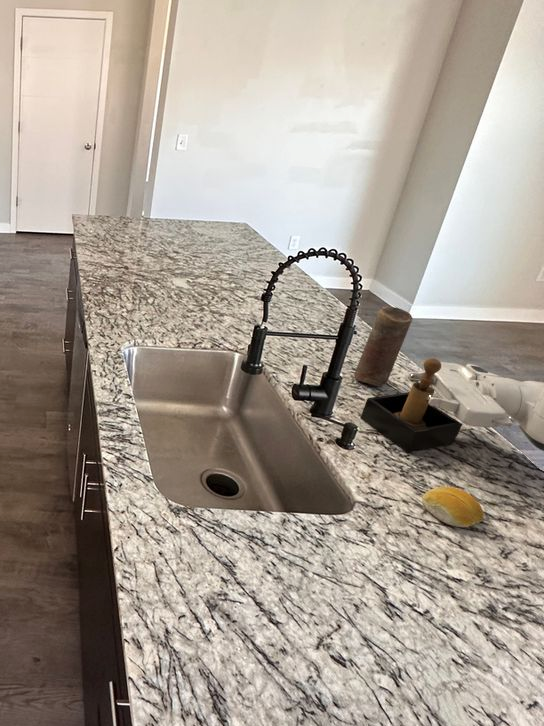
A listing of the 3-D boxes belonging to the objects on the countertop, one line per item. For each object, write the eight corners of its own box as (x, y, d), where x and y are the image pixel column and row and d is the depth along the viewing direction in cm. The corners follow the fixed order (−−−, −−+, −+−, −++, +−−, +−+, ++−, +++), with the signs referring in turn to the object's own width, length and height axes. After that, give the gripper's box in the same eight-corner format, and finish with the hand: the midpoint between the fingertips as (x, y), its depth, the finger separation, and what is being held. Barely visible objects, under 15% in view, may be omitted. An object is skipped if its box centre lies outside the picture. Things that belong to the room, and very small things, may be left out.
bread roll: (488, 520, 97) (497, 503, 96) (457, 534, 94) (466, 518, 92) (441, 489, 104) (449, 473, 102) (411, 502, 101) (419, 485, 99)
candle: (388, 381, 140) (415, 312, 131) (384, 393, 134) (411, 321, 126) (356, 370, 144) (379, 303, 135) (350, 381, 139) (374, 311, 130)
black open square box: (403, 411, 128) (411, 391, 125) (452, 445, 117) (462, 424, 114) (360, 418, 124) (367, 397, 122) (406, 453, 114) (416, 432, 111)
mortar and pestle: (428, 440, 117) (460, 369, 109) (397, 436, 118) (425, 366, 110) (414, 422, 123) (443, 353, 115) (384, 418, 124) (410, 350, 116)
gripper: (513, 439, 106) (435, 428, 108) (460, 384, 124) (395, 375, 126) (527, 413, 103) (447, 402, 105) (471, 360, 121) (404, 352, 123)
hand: (418, 387), depth 116 cm, fingers open, 8 cm apart
